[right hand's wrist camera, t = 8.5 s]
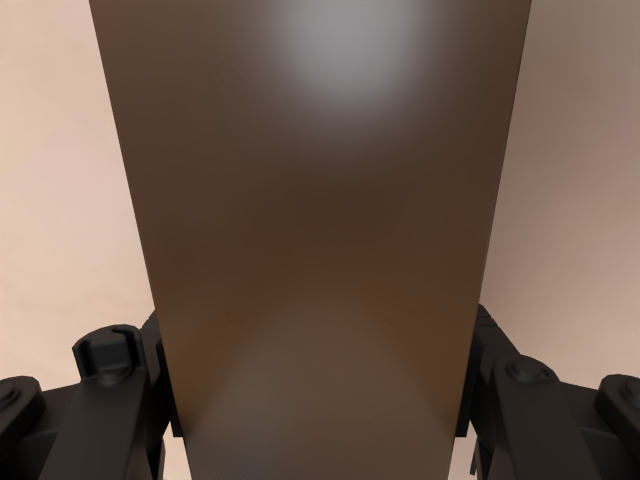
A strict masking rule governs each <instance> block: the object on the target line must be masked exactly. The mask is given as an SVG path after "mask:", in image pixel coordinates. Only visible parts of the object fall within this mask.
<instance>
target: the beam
mask: <svg viewBox="0 0 640 480" xmlns="http://www.w3.org/2000/svg"><path fill="white" fill-rule="evenodd" d="M531 1H532V0H89V4H90V8H91V13H92V18H93V22H94V27H95V32H96V36H97V41H98V46H99V50H100V55H101V59H102V64H103V69H104V73H105V78H106V83H107V87H108V92H109V97H110V101H111V106H112V111H113V115H114V120H115V125H116V129H117V134H118V139H119V143H120V148H121V152H122V157H123V162H124V166H125V171H126V176H127V180H128V185H129V190H130V194H131V199H132V204H133V208H134V213H135V218H136V222H137V227H138V232H139V236H140V241H141V246H142V250H143V255H144V259H145V264H146V269H147V273H148V278H149V283H150V287H151V292H152V297H153V301H154V306H155V311H156V315H157V320H158V325H159V329H160V334H161V339H162V343H163V348H164V352H165V357H166V362H167V366H168V371H169V376H170V380H171V385H172V390H173V394H174V399H175V404H176V408H177V413H178V418H179V422H180V427H181V432H182V436H183V441H184V446H185V450H186V455H187V459H188V464H189V469H190V473H191V478H192V480H448V475H449V469H450V463H451V457H452V452H453V446H454V440H455V435H456V429H457V423H458V417H459V412H460V406H461V400H462V395H463V389H464V383H465V378H466V372H467V366H468V360H469V355H470V349H471V343H472V338H473V332H474V326H475V320H476V315H477V309H478V303H479V298H480V292H481V286H482V280H483V275H484V269H485V263H486V258H487V252H488V246H489V241H490V235H491V229H492V223H493V218H494V212H495V206H496V201H497V195H498V189H499V183H500V178H501V172H502V166H503V161H504V155H505V149H506V144H507V138H508V132H509V126H510V121H511V115H512V109H513V104H514V98H515V92H516V86H517V81H518V75H519V69H520V64H521V58H522V52H523V47H524V41H525V35H526V29H527V24H528V18H529V12H530V7H531Z"/></svg>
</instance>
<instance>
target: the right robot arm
mask: <svg viewBox="0 0 640 480" xmlns="http://www.w3.org/2000/svg"><path fill="white" fill-rule="evenodd" d="M72 350H73V354H74V357H75V360H76V364H77V367H78V370H79V373H80V377H81V381H80V383H78V384H74V385H70V386H65V387H61V388H56V389H52V390H47V391H42V390H41V387H40V384H39V382H38V381H37V380H36V379H35V378H33V377H29V376H17V377H10V378H6V379H2V380H0V480H163V471H164V461H165V445H164V440H163V435H164V433H165V431H166V428H167V426H168V424H169V422H171V427H172V432H173V437H183V436H182V432H181V427H180V422H179V418H178V413H177V408H176V404H175V399H174V394H173V390H172V385H171V380H170V376H169V371H168V366H167V362H166V357H165V352H164V348H163V343H162V339H161V334H160V329H159V325H158V320H157V315H156V311H155V310H154V311H153V313H152V314H151V315H150V317H149V320H147V321H146V322H145V323H144V324H143V326H142V328H140V330H139V329H138V328H136V327H135V326H131V325H127V324H121V325H111V326H107V327H103V328H100V329H97V330H95V331H93V332H90V333H88V334H87V335H85V336H84V337H82V338H81V339H79V340H78V341H77V342H76V343H75V345H74V346H73V347H72ZM469 421H471V423H472V425H473V427H474V429H475V431H476V434H477V440H476V445H475V449H474V454H473V459H472V463H471V469H470V474H471V475H475V472H476V470H477V479H478V480H640V379H639V378H637V377H633V376H628V375H621V374H614V375H607V376H606V377H605V378H603V379H602V381H601V383H600V386H599V389H598V390H596V389H591V388H586V387H582V386H577V385H573V384H568V383H564V382H561V381H560V380H559V378H558V377H557V376H556V374H555V373H554V371H553V370H552V369H550V368H549V367H548V366H546V365H545V364H544V363H542V362H540V361H538V360H536V359H534V358H532V357H528V356H525V355H521V354H520V353H519V352H518V350H517V349H516V348H515V347H514V345H513V344H512V343H511V341H510V340H509V339H508V337H507V336H506V335H505V334H504V332H503V331H502V330H501V328H500V327H498V325H497V323H496V322H495V321H494V319H493V318H491V316H490V314H489V313H488V312H487V310H486V309H485V308H484V306H482V305H481V304H479V303H478V309H477V315H476V320H475V326H474V332H473V338H472V343H471V349H470V355H469V360H468V366H467V372H466V378H465V383H464V389H463V395H462V400H461V406H460V412H459V417H458V423H457V429H456V435H455V437H466V436H467V431H468V426H469Z"/></svg>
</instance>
